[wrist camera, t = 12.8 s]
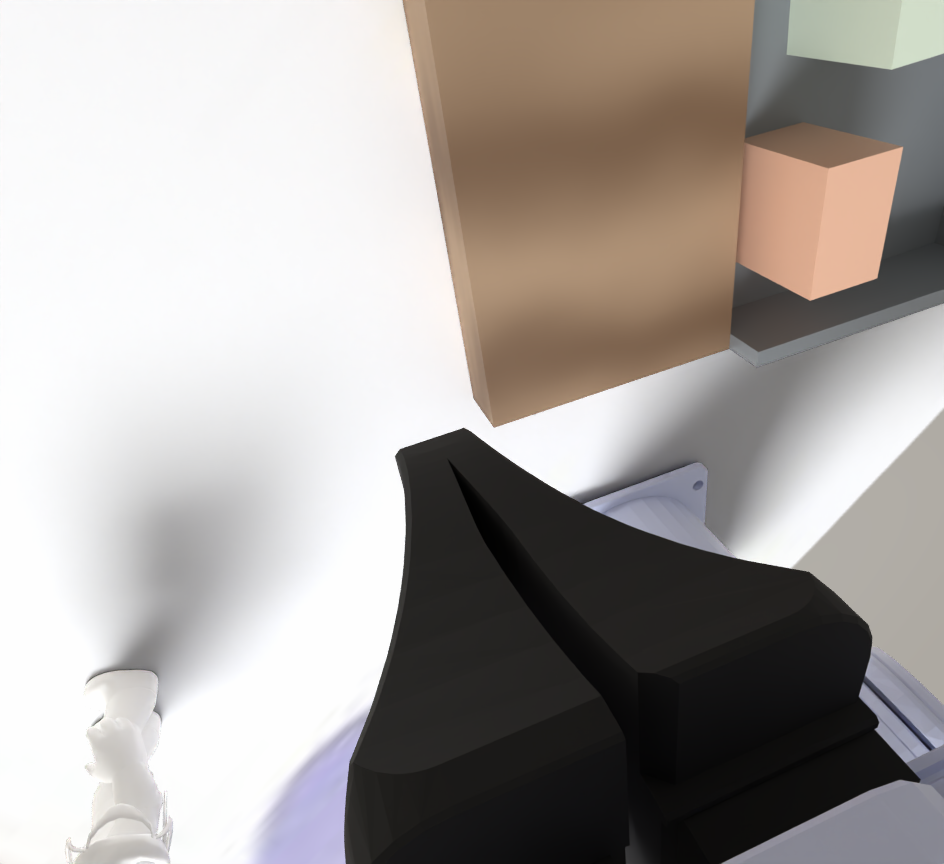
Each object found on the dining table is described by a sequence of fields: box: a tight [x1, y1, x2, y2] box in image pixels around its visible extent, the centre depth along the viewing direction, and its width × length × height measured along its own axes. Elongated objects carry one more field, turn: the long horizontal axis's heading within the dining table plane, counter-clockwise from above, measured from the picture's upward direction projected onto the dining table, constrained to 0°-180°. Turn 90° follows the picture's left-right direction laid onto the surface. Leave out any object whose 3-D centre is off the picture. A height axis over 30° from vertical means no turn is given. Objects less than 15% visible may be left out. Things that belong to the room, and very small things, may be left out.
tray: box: [729, 0, 944, 367], centre depth 22 cm, size 15×11×4 cm
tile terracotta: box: [736, 122, 903, 301], centre depth 22 cm, size 4×4×2 cm
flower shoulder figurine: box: [65, 670, 173, 864], centre depth 22 cm, size 9×4×12 cm, turn 166°
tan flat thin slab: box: [403, 0, 755, 427], centre depth 21 cm, size 15×9×2 cm, turn 9°
